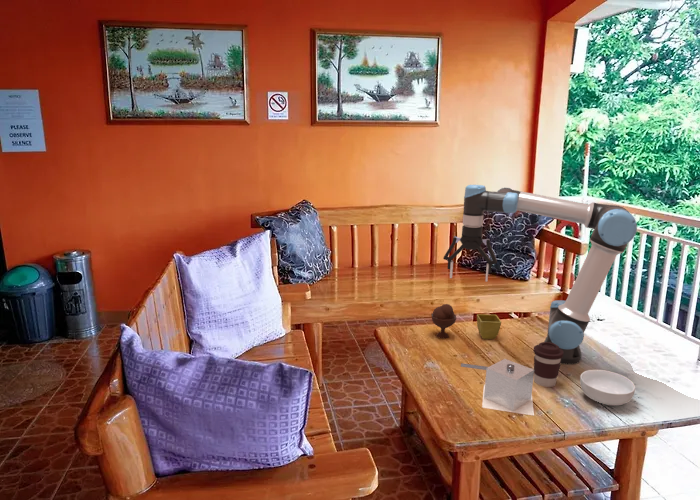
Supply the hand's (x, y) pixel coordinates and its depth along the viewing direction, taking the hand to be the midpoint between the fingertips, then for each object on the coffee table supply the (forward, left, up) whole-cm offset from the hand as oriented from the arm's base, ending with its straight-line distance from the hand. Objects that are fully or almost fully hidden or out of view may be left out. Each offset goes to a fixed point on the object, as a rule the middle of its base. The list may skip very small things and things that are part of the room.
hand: (468, 279), depth 202 cm
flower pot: (-9, -21, -32) cm, 39 cm away
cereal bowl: (-49, +22, -32) cm, 63 cm away
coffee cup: (-30, +17, -32) cm, 47 cm away
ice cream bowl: (+10, -16, -32) cm, 37 cm away
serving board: (-17, +34, -32) cm, 49 cm away
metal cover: (-17, +34, -31) cm, 49 cm away
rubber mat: (-7, +17, -32) cm, 37 cm away
